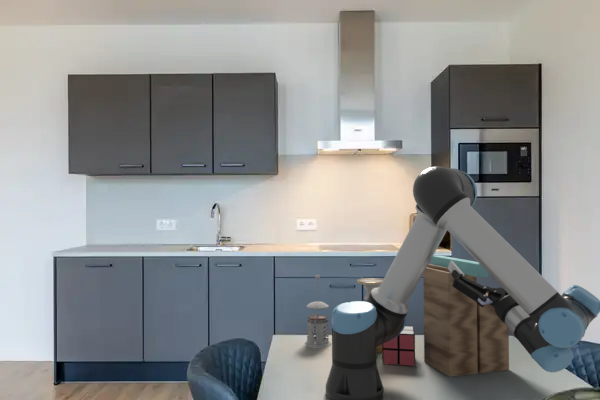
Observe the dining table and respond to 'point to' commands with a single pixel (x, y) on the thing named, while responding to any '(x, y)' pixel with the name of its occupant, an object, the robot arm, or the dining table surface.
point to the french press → (317, 325)
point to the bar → (461, 265)
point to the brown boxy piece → (460, 328)
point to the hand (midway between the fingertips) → (470, 263)
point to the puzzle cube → (400, 349)
